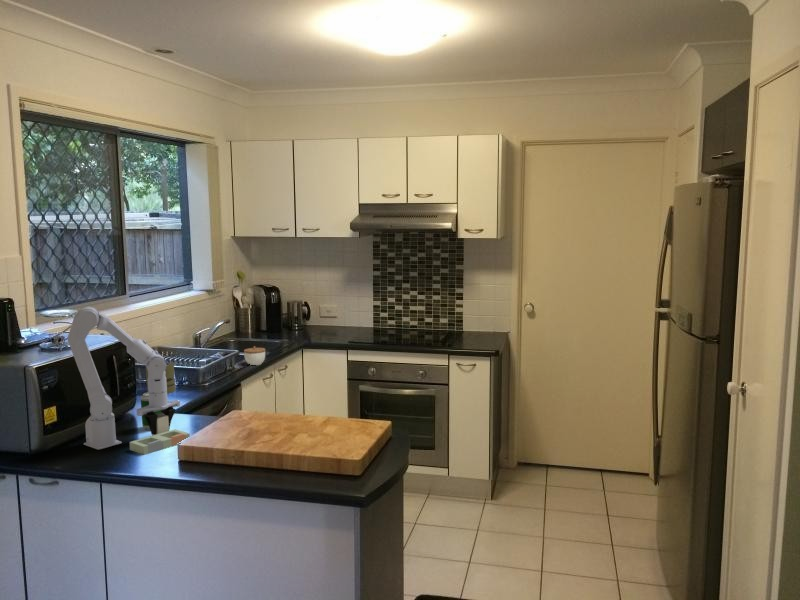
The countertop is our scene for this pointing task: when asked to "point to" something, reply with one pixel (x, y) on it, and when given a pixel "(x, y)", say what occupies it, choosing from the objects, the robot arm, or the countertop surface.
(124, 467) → the countertop surface
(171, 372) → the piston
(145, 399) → the soda can
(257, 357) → the lidded jar
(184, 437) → the socket block
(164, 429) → the plug
